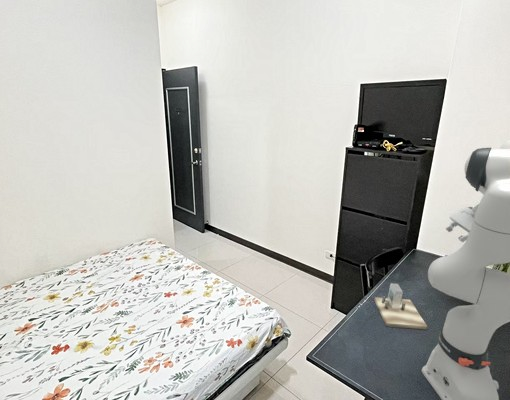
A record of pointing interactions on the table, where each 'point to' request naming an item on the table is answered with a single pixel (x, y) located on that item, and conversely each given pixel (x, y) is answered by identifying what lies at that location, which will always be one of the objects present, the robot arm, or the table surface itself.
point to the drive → (394, 296)
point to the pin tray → (400, 314)
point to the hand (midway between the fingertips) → (453, 235)
